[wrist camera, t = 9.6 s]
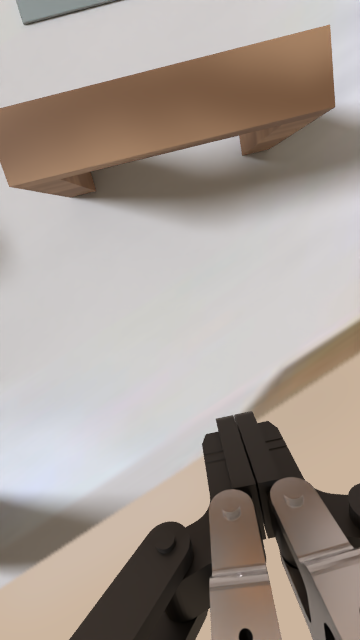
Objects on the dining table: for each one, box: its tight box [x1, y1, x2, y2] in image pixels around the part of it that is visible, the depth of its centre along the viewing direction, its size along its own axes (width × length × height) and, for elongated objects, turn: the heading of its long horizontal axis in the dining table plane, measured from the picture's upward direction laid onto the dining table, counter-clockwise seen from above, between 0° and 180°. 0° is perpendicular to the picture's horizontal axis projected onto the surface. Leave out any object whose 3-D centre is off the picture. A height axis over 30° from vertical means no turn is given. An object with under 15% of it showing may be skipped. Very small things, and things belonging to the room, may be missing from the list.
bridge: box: [0, 25, 335, 197], centre depth 19 cm, size 3×15×10 cm, turn 103°
